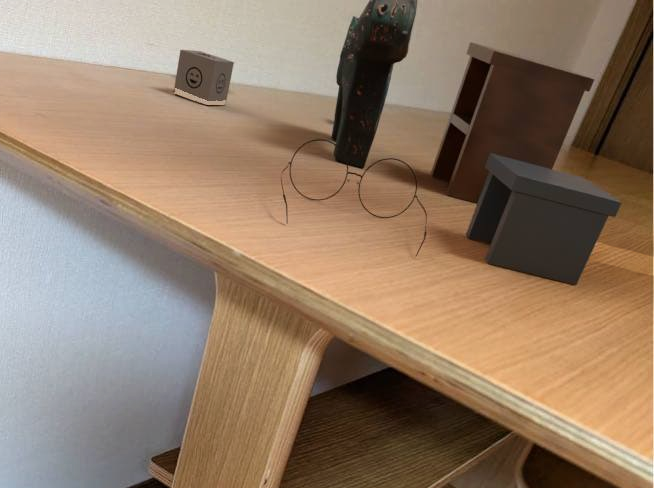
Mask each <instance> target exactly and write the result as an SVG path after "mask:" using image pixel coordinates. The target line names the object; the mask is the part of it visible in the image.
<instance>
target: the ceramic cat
mask: <svg viewBox="0 0 654 488" xmlns="http://www.w3.org/2000/svg"><path fill="white" fill-rule="evenodd" d="M417 7H418V0H368V3H366V6H365V8H364V9H363V11H362V12H361V14H360V15H359V16H358V17H357V16H355V15H353V16H352V19H351V20H350V24H349V26H348V28H347V32H346V33H347V34H346V36H345V39H344V42H343V46H342V49H341V52H340V55H339V62H338V66H337V70H336V77H335V78H336V79H335V80H336V85H337V86H338V91H337V97H336V104H335V110H334V117H333V118H334V120H333V126H332V130H331V131H332V132H331V136H330V138H332V139H333V140H332V139H331V140H332V141H334V140H335V141H334V144H336V145H337V146H338V147H339V148H340V149H341V150H342V151H343V153H344V154H345V157H346V159H347V163H348V166H353V167H356V168H360V169H364V168H365V166H366V164H367V161H368V157H369V155H370V151H371V148H372V145H373V143H374V140H375V138H376V134H377V131H378V127H379V124H380V120H381V116H382V113H383V111H384V106H385V103H386V100H387V97H388V92H389V87H390V83H391V80H392V75H393V69H394V65H395V64H397V63H400V62H402V61H403V60H404V59H405V58H406V57H407V55H408V53H409V49H410V41H411V37H412V32H413V27H414V23H415V19H416V14H417V9H418V8H417ZM337 146H335V145H334V149H333V157H334V161H335V162H338V163H341V164H344V165H347V164H346V160H345V157H344V155H343V153H342V152H341V150H340V149H339V148H338V147H337Z"/></svg>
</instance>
